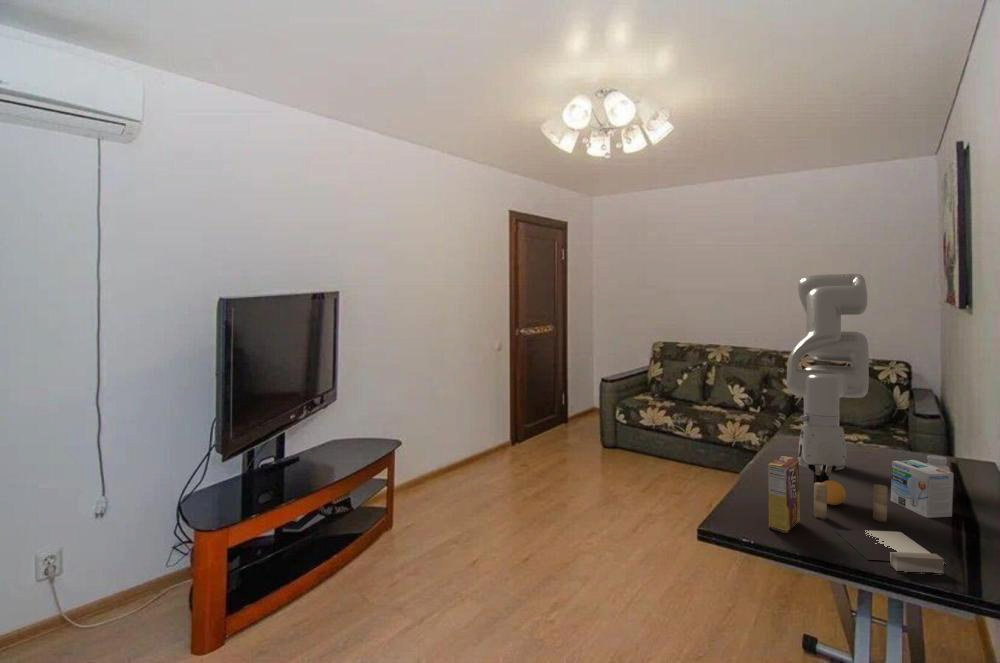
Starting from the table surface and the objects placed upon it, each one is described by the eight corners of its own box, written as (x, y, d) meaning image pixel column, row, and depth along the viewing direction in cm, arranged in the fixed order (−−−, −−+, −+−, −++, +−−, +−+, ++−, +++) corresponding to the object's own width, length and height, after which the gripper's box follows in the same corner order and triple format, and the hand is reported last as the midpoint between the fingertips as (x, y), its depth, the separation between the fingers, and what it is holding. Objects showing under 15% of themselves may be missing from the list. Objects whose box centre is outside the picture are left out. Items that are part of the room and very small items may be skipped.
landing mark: (832, 529, 115) (832, 528, 115) (900, 532, 113) (900, 531, 113) (867, 560, 101) (867, 559, 101) (945, 564, 99) (945, 563, 99)
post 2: (870, 516, 121) (871, 484, 121) (882, 517, 121) (883, 484, 121) (877, 521, 119) (877, 488, 118) (889, 522, 118) (890, 488, 118)
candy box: (780, 517, 122) (781, 454, 121) (800, 522, 119) (801, 458, 118) (766, 528, 116) (767, 463, 115) (787, 534, 113) (788, 467, 112)
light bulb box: (889, 501, 131) (890, 460, 130) (913, 500, 131) (914, 459, 131) (927, 518, 120) (928, 474, 120) (953, 517, 121) (955, 472, 120)
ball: (818, 475, 130) (826, 496, 126) (844, 476, 129) (853, 498, 125) (811, 487, 134) (819, 508, 130) (836, 488, 133) (845, 509, 129)
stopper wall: (890, 566, 99) (890, 551, 99) (935, 569, 98) (936, 553, 97) (896, 571, 97) (896, 556, 97) (943, 574, 96) (943, 559, 96)
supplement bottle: (954, 497, 133) (955, 460, 132) (930, 495, 134) (931, 459, 133) (940, 489, 138) (941, 454, 138) (918, 488, 139) (919, 453, 139)
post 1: (811, 514, 123) (812, 482, 123) (823, 514, 123) (823, 482, 123) (816, 518, 121) (817, 486, 120) (828, 519, 120) (829, 486, 120)
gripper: (797, 422, 131) (796, 492, 132) (860, 424, 129) (859, 495, 130) (786, 416, 139) (785, 482, 140) (845, 418, 136) (844, 485, 137)
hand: (820, 488), depth 135 cm, fingers closed
